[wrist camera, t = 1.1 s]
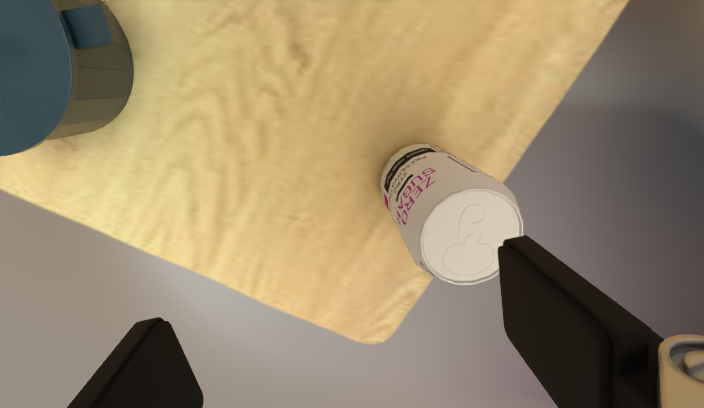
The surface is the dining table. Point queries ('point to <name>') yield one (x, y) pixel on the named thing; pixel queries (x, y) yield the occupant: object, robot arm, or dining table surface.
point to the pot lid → (34, 73)
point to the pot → (96, 66)
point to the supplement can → (449, 213)
